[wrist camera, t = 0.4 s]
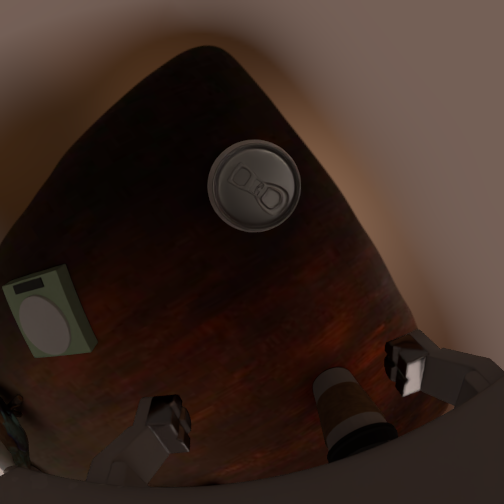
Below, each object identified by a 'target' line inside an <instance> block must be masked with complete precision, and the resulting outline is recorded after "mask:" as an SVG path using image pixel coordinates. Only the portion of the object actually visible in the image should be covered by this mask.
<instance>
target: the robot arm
mask: <svg viewBox="0 0 504 504" xmlns="http://www.w3.org/2000/svg"><path fill="white" fill-rule="evenodd" d="M385 352H386V353H387V356H386V357H385V359H384V367H385V371H386V374H387V376H388V377H389V379H390V380H392V381H394V382H396V385H395V387H396V389H397V390H398V391H399V393H400V394H401V396H402V397H404V396H407V395H409V394H412V393H414V392H416V391H418V390H421V391H423V392H425V393H427V394H429V395H432V396H434V397H436V398H438V399H441V400H443V401H445V402H447V403H450V404H452V405H454V406H455V407H454V409H453V410H451V411H449V412H447V413H446V414H444V415H442V416H440V417H438V418H436V419H435V420H433V421H431V422H429V423H427V424H425V425H423V426H421V427H419V428H417V429H415V430H413V431H411V432H409V433H407V434H405V435H402V436H400V437H398V438H396V439H393V440H391V441H389V442H386V443H384V444H382V445H379V446H377V447H374V448H372V449H369V450H366V451H364V452H361V453H358V454H356V455H353V456H350V457H347V458H344V459H341V460H338V461H334V462H331V463H328V464H324V465H321V466H317V467H314V468H310V469H306V470H302V471H298V472H294V473H289V474H285V475H280V476H275V477H270V478H265V479H259V480H253V481H246V482H239V483H231V484H222V485H211V486H196V487H149V486H148V485H147V484H148V482H149V481H150V480H151V478H152V477H153V476H154V474H155V473H156V472H157V470H158V469H159V468H160V466H161V465H162V464H163V462H164V461H165V460H166V458H167V457H168V456H169V453H180V452H189V449H190V437H189V436H188V433H189V432H190V431H191V419H190V415H189V413H188V411H187V409H186V408H185V407H183V406H182V400H181V398H180V396H179V395H177V394H175V395H165V396H154V397H143V398H142V399H141V400H140V402H139V406H138V409H137V413H136V416H135V420H134V423H133V426H131V427H128V428H127V429H126V430H125V431H124V432H123V433H122V434H121V435H120V436H118V437H117V438H116V439H115V440H114V441H113V442H112V443H111V444H109V445H108V446H107V447H106V448H105V449H104V450H103V451H102V452H100V453H99V454H98V455H97V456H96V457H95V458H93V460H92V463H91V466H90V469H89V472H88V476H87V479H86V481H81V480H75V479H69V478H64V477H59V476H55V475H50V474H46V473H42V472H38V471H35V470H31V469H28V468H24V467H15V468H13V469H11V470H9V471H8V472H6V473H5V474H3V475H2V476H0V504H504V371H503V370H502V369H501V368H500V367H499V366H498V365H497V364H495V363H494V362H493V361H492V360H491V359H489V358H485V357H481V356H476V355H472V354H467V353H463V352H459V351H454V350H450V349H446V348H442V349H440V348H439V347H438V346H437V345H436V344H434V343H433V342H432V341H431V340H430V339H429V338H428V337H427V336H426V335H425V334H424V333H422V331H421V330H418V329H417V330H415V331H413V332H411V333H408V334H406V335H404V336H401V337H399V338H396V339H394V340H391V341H389V342H386V345H385Z"/></svg>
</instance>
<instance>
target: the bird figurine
mask: <svg viewBox="0 0 504 504" xmlns="http://www.w3.org/2000/svg"><path fill="white" fill-rule="evenodd" d="M22 401H23V398H22V397H21V396H20V395H17V396H16V397H15V398H14V399H13V400H12V401H11V402H9V403H8V404H7V405H6V403H5V402H4V401H3V399H2V398H1V397H0V440H1V441H2V443H3V444H4V445H5V447H6V448H7V449H8V450H9V451H10V453H11V454H12V456H13V460H14V462H15V464H16V465H17V467H24V468H28V469H31V468H30V464H31V462H30V458H29V444H28V438H27V435H26V432H25V431H24V429H23V428H22V427H21V425H20V424H19V422H18V420H17V418H16V417H22V416H23V414H22V412H19V411H15V410H14V409H15V408H16V407H18V406H20V404H21V402H22Z"/></svg>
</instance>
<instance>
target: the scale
mask: <svg viewBox="0 0 504 504" xmlns="http://www.w3.org/2000/svg"><path fill="white" fill-rule="evenodd" d="M2 289H3V291H4V294H5V296H6V299H7V301H8V304H9V306H10V308H11V311H12V313H13V315H14V317H15V320H16V322H17V324H18V326H19V328H20V330H21V332H22V334H23V336H24V338H25V340H26V342H27V344H28V346H29V348H30V350H31V352H32V354H33V355H34V357H35V358H39V357H50V356H61V355H70V354H79V353H87V352H92V350H93V349H94V347H95V346H96V344H97V342H98V341H97V339H96V337H95V335H94V333H93V331H92V329H91V326H90V324H89V322H88V320H87V318H86V315H85V313H84V311H83V308H82V306H81V303H80V301H79V299H78V296H77V294H76V291H75V288H74V286H73V283H72V281H71V278H70V275H69V272H68V270H67V267H66V264H63V265H59V266H56V267H53V268H49V269H46V270H43V271H40V272H37V273H33V274H30V275H27V276H24V277H21V278H18V279H15V280H12V281H10V282H8V283H7V284H5V285H4V286H2Z"/></svg>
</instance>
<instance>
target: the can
mask: <svg viewBox="0 0 504 504" xmlns="http://www.w3.org/2000/svg"><path fill="white" fill-rule="evenodd" d="M207 187H208V195H209V199H210V202H211V205H212V207H213V209H214V210H215V212H216V213H217V214H218V216H219V217H220V218H221V219H222V220H223V221H224V222H226V223H227V224H228V225H230V226H232V227H234V228H236V229H239V230H242V231H247V232H262V231H266V230H270V229H272V228H274V227H276V226H278V225H280V224H281V223H283V222H284V221H285V220H286V219H287V218H288V217H289V216H290V215H291V214H292V213H293V211H294V210H295V208H296V206H297V204H298V201H299V198H300V193H301V180H300V174H299V171H298V168H297V166H296V164H295V162H294V161H293V159H292V158H291V157H290V156H289V154H288V153H287V152H286V151H284V150H283V149H282V148H280V147H279V146H277V145H275V144H273V143H270V142H267V141H263V140H246V141H241V142H238V143H236V144H233V145H232V146H230V147H228V148H227V149H225V150H224V151H223V152H222V153H221V154H220V155H219V156H218V157H217V159H216V160H215V162H214V163H213V165H212V167H211V170H210V173H209V176H208V185H207Z"/></svg>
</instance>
